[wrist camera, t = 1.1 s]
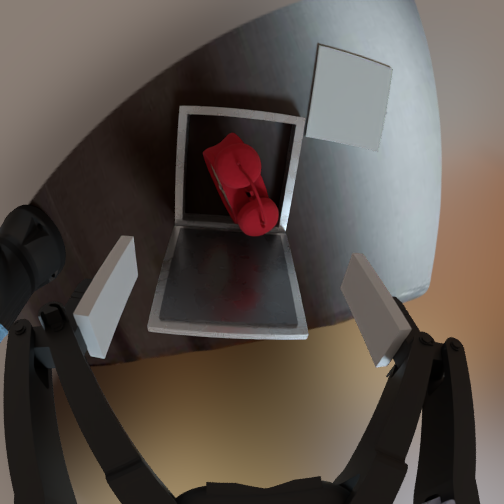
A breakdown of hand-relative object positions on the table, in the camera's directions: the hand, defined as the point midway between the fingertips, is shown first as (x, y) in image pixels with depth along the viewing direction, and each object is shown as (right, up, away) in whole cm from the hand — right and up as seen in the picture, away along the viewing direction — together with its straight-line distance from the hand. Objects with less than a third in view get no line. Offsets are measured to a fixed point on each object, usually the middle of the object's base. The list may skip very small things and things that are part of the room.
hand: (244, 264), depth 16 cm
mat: (+14, +21, +15) cm, 29 cm away
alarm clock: (-2, +12, +20) cm, 23 cm away
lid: (-2, -1, +14) cm, 14 cm away
